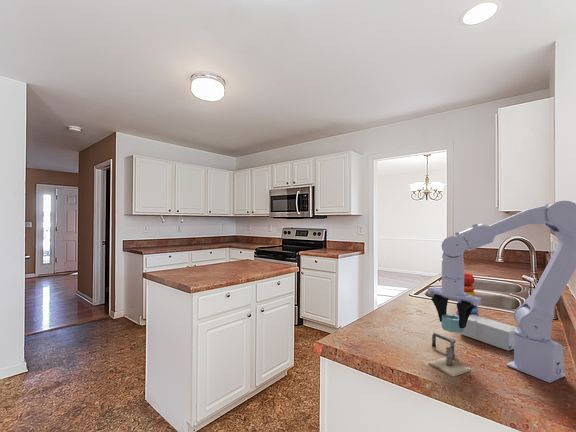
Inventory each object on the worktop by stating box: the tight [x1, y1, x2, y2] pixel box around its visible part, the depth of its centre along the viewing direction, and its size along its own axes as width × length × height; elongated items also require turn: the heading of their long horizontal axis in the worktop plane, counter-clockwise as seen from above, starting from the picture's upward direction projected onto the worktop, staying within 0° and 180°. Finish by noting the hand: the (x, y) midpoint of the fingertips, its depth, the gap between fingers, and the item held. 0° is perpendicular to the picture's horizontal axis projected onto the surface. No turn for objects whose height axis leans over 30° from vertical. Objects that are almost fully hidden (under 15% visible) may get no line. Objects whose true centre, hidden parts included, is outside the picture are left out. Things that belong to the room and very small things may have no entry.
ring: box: [441, 313, 464, 334], centre depth 86 cm, size 5×5×4 cm
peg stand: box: [428, 346, 472, 377], centre depth 78 cm, size 7×7×5 cm
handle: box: [431, 332, 456, 361], centre depth 86 cm, size 10×6×4 cm, turn 27°
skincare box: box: [459, 315, 517, 352], centre depth 95 cm, size 8×6×15 cm
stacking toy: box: [456, 272, 480, 317], centre depth 113 cm, size 8×8×19 cm
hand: (452, 324), depth 86 cm, fingers closed on ring, 5 cm apart
